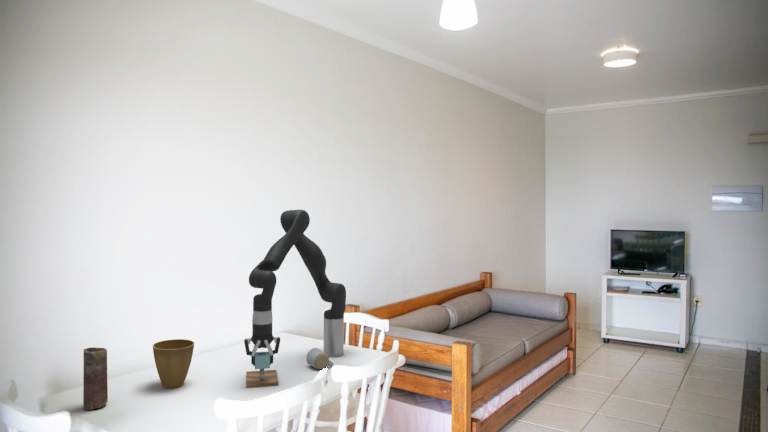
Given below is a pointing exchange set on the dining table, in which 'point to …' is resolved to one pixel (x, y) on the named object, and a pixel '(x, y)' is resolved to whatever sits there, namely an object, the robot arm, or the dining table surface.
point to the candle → (95, 378)
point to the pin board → (256, 378)
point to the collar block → (262, 360)
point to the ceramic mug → (318, 359)
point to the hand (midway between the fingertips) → (262, 364)
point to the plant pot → (173, 361)
